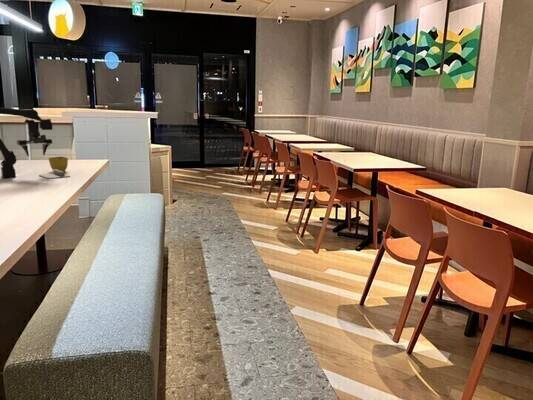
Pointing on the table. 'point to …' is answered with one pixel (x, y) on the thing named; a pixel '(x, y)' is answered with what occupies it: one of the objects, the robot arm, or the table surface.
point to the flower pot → (58, 163)
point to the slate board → (52, 176)
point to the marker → (58, 172)
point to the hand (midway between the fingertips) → (36, 155)
